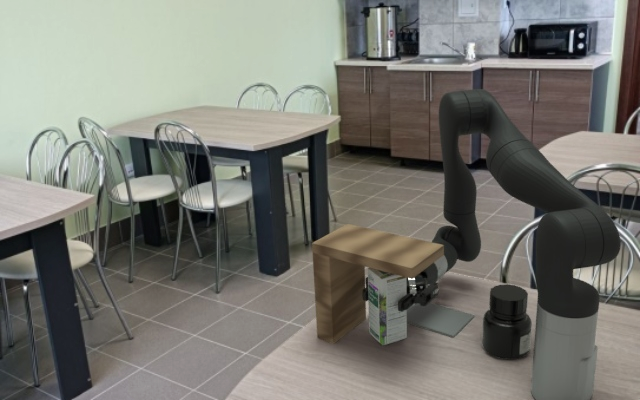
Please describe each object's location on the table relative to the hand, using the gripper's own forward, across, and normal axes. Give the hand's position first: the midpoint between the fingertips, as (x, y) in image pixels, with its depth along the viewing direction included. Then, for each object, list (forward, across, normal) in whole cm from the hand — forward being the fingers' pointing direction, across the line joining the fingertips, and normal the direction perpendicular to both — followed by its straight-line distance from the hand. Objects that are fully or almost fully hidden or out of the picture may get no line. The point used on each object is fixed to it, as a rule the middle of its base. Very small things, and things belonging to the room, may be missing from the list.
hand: (381, 301), depth 119 cm
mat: (-16, 0, +10) cm, 19 cm away
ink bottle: (-13, +20, +10) cm, 26 cm away
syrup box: (-2, 0, +9) cm, 9 cm away
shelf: (-2, -2, +10) cm, 10 cm away
